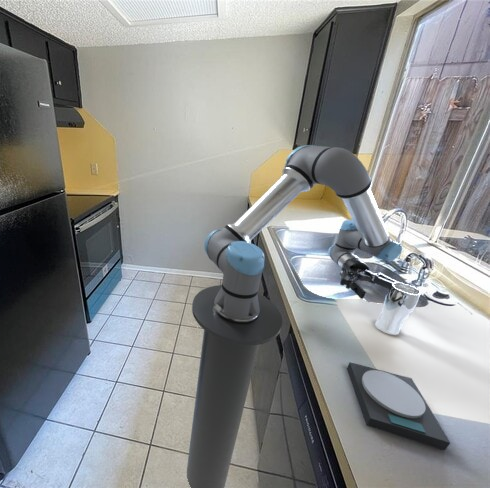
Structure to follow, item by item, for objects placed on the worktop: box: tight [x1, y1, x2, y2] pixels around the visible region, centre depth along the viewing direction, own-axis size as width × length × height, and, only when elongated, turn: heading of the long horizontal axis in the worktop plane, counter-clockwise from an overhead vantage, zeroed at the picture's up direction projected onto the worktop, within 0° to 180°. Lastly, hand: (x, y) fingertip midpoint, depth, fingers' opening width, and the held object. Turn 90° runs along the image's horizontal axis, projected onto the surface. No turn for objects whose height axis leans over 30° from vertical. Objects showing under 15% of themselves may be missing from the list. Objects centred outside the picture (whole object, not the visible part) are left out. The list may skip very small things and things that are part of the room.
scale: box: [346, 361, 451, 451], centre depth 58 cm, size 15×13×3 cm
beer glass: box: [374, 282, 422, 336], centre depth 78 cm, size 7×7×15 cm
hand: (386, 298), depth 83 cm, fingers open, 13 cm apart
